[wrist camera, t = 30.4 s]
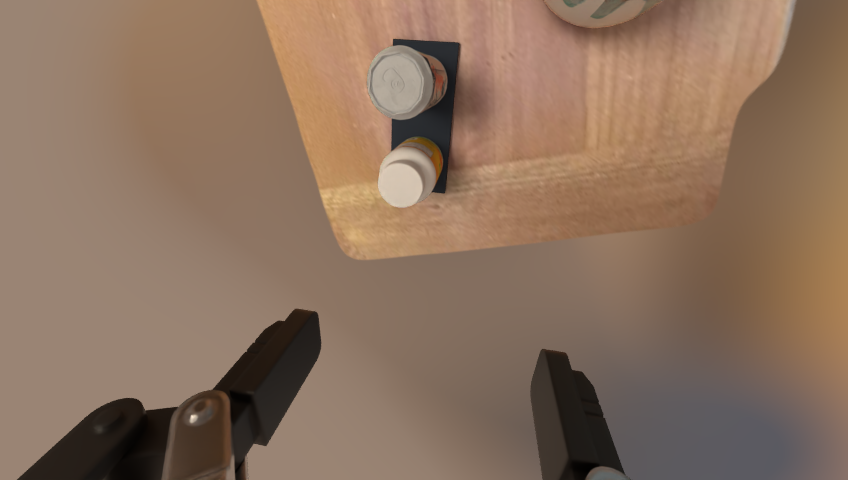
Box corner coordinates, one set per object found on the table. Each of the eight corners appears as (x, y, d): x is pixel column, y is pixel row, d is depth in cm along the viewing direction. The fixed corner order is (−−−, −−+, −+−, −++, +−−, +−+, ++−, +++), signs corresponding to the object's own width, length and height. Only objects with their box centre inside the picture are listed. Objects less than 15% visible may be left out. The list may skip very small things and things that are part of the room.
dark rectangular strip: (394, 39, 32) (393, 38, 32) (459, 43, 32) (458, 42, 31) (391, 186, 39) (390, 187, 39) (445, 192, 38) (444, 193, 38)
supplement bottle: (431, 192, 38) (416, 225, 29) (389, 171, 38) (361, 199, 29) (451, 149, 36) (441, 172, 27) (406, 127, 35) (382, 143, 27)
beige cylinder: (424, 117, 35) (397, 135, 24) (391, 82, 34) (348, 84, 23) (457, 82, 33) (445, 84, 22) (424, 43, 32) (394, 25, 21)
